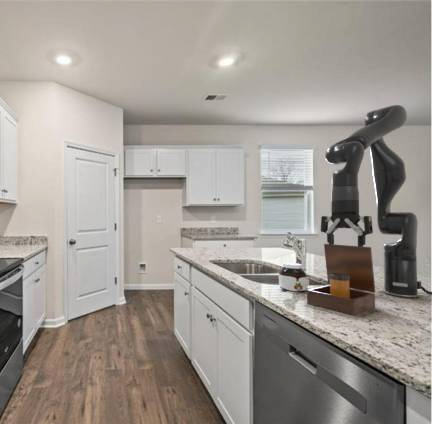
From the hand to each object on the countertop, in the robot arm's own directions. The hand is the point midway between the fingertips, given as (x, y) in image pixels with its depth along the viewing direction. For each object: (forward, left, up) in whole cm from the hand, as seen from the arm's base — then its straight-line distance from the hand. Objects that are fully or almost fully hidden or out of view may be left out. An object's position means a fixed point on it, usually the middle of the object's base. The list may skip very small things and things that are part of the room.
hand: (345, 245), depth 98 cm
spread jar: (-7, -21, -22) cm, 31 cm away
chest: (+3, 0, -22) cm, 22 cm away
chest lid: (-2, 0, -8) cm, 8 cm away
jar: (+3, 0, -21) cm, 21 cm away
